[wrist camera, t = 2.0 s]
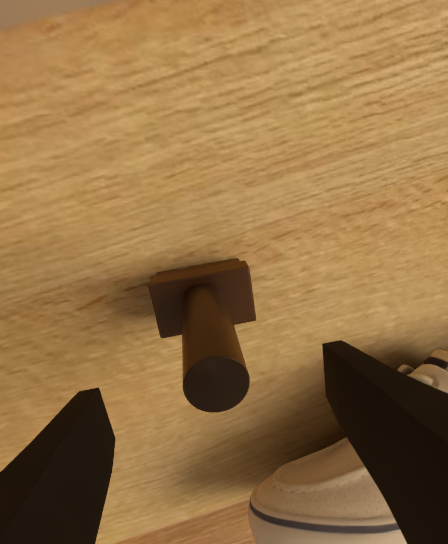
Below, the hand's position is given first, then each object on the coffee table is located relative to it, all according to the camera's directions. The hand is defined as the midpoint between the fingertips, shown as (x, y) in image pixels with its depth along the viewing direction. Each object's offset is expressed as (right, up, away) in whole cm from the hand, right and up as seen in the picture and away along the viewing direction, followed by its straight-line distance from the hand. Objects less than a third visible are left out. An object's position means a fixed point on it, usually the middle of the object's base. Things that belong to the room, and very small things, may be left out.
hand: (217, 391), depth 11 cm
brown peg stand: (-1, +3, +9) cm, 9 cm away
